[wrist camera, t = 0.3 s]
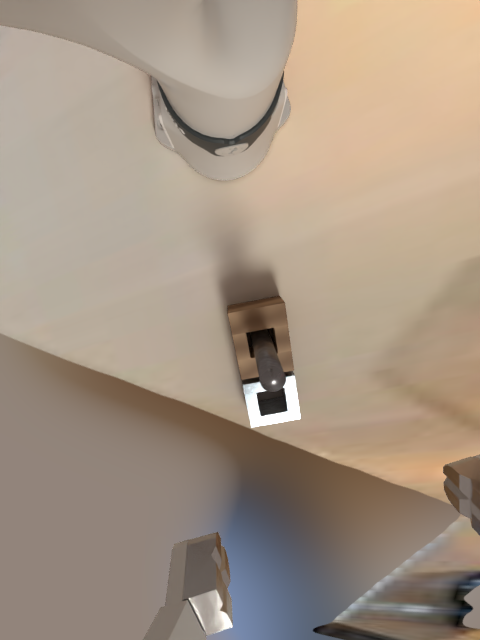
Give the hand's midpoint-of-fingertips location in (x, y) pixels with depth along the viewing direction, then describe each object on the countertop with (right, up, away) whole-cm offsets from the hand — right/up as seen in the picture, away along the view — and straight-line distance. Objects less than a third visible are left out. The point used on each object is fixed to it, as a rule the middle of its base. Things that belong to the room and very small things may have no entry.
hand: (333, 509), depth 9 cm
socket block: (+2, -6, +43) cm, 43 cm away
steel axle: (0, +4, +39) cm, 39 cm away
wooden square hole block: (0, +4, +39) cm, 39 cm away
